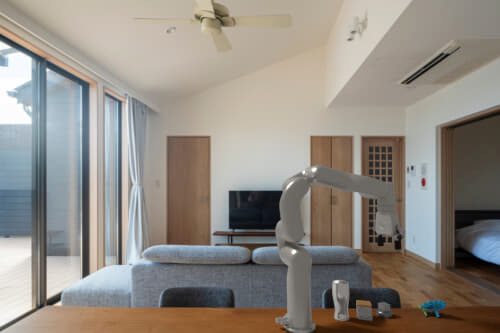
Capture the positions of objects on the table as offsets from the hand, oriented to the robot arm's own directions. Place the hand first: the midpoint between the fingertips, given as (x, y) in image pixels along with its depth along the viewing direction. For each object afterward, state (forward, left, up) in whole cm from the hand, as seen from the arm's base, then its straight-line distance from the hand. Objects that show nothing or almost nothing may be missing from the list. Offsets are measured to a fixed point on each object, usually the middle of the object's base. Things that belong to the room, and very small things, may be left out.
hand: (389, 247), depth 128 cm
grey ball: (-3, +2, -29) cm, 29 cm away
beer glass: (-23, +4, -29) cm, 37 cm away
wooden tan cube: (-13, +2, -29) cm, 32 cm away
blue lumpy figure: (+18, -2, -29) cm, 35 cm away
